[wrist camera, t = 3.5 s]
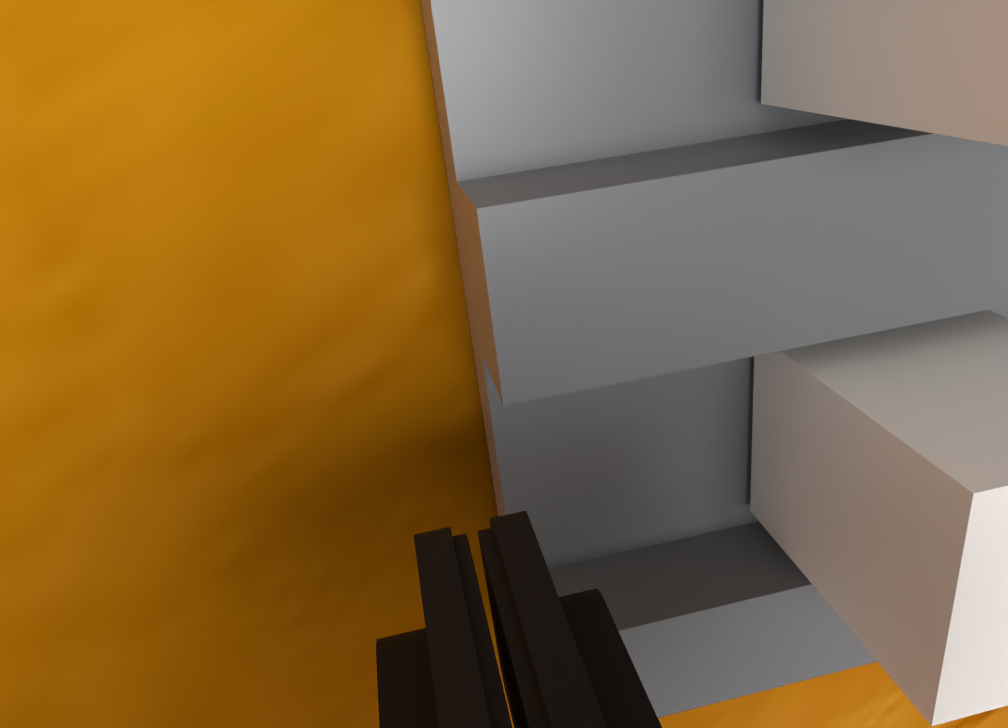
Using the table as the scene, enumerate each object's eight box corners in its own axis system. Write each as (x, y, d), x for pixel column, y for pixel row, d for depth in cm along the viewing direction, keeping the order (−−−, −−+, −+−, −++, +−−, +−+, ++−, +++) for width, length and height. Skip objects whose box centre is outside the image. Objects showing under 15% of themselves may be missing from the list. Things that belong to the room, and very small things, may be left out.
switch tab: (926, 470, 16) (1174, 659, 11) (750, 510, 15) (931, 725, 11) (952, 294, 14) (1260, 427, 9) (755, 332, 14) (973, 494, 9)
